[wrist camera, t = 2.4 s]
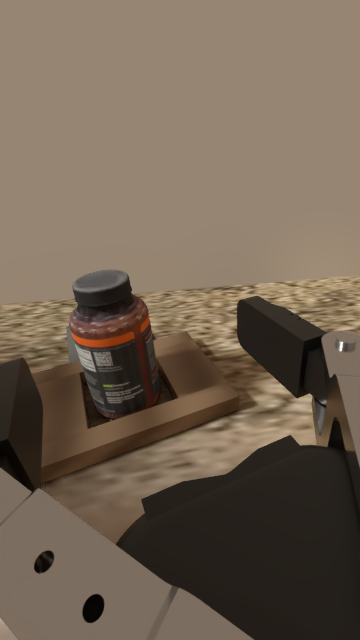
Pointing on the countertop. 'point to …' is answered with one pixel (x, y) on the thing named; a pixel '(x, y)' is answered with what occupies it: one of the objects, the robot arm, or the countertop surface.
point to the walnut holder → (138, 428)
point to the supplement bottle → (114, 344)
